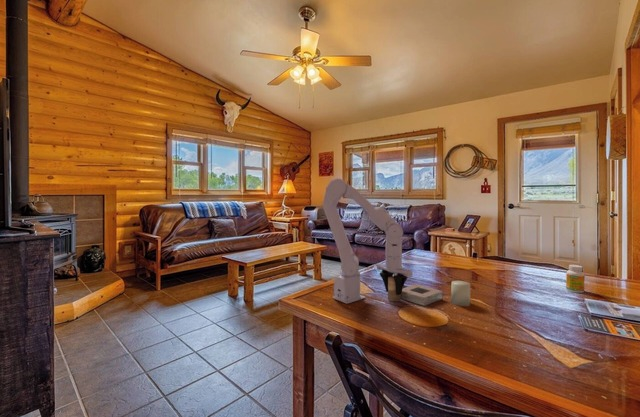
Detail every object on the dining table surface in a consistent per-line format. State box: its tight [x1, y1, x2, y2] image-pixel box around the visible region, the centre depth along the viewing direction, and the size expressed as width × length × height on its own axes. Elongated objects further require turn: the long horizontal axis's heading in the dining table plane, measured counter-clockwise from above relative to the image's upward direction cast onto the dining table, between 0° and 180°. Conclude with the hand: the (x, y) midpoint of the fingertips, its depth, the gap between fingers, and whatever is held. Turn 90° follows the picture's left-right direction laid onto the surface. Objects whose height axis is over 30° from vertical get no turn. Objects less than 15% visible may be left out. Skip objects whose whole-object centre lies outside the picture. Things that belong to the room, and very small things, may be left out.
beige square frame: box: [399, 283, 443, 307], centre depth 112 cm, size 11×11×3 cm
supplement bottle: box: [565, 264, 586, 294], centre depth 118 cm, size 5×5×10 cm
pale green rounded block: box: [450, 280, 471, 307], centre depth 107 cm, size 6×6×7 cm
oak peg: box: [387, 275, 400, 302], centre depth 111 cm, size 4×4×8 cm
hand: (393, 292), depth 111 cm, fingers closed on oak peg, 4 cm apart
